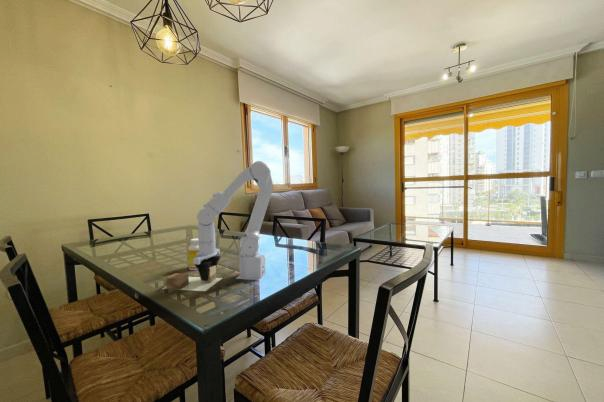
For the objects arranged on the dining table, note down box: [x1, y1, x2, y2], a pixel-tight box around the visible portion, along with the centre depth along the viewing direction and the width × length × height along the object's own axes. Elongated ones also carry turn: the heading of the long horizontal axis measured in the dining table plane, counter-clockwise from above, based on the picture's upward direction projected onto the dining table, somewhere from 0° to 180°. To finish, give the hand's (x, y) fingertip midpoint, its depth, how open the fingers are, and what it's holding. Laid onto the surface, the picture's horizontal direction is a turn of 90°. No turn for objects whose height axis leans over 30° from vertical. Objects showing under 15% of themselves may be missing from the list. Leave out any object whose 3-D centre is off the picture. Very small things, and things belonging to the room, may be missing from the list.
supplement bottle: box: [187, 237, 199, 271], centre depth 107 cm, size 7×7×13 cm
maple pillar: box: [199, 265, 217, 283], centre depth 91 cm, size 4×4×5 cm
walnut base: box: [165, 272, 190, 290], centre depth 86 cm, size 5×5×4 cm
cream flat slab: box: [161, 276, 223, 292], centre depth 89 cm, size 16×12×1 cm
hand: (208, 278), depth 91 cm, fingers closed on maple pillar, 4 cm apart
